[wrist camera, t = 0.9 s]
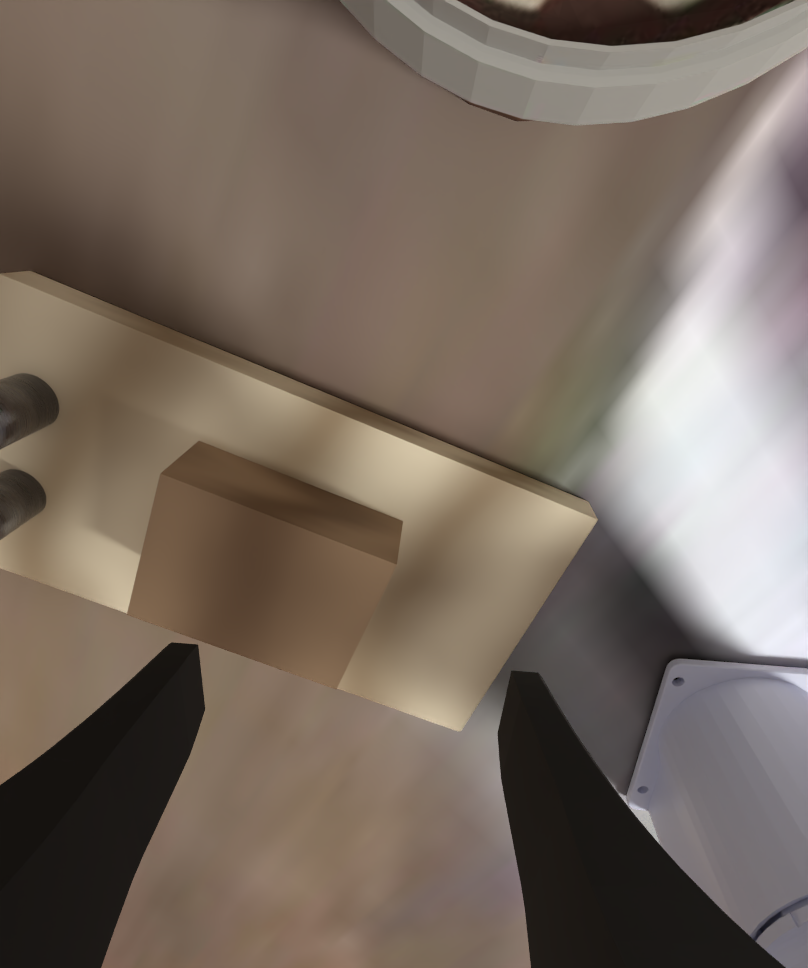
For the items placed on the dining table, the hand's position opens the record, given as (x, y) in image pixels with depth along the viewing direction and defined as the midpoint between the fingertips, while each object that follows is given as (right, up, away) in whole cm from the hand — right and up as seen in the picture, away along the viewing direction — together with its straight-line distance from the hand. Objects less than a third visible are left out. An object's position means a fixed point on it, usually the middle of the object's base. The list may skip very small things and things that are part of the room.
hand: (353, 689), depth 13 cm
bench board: (-4, +3, +10) cm, 11 cm away
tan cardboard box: (-4, +2, +9) cm, 10 cm away
